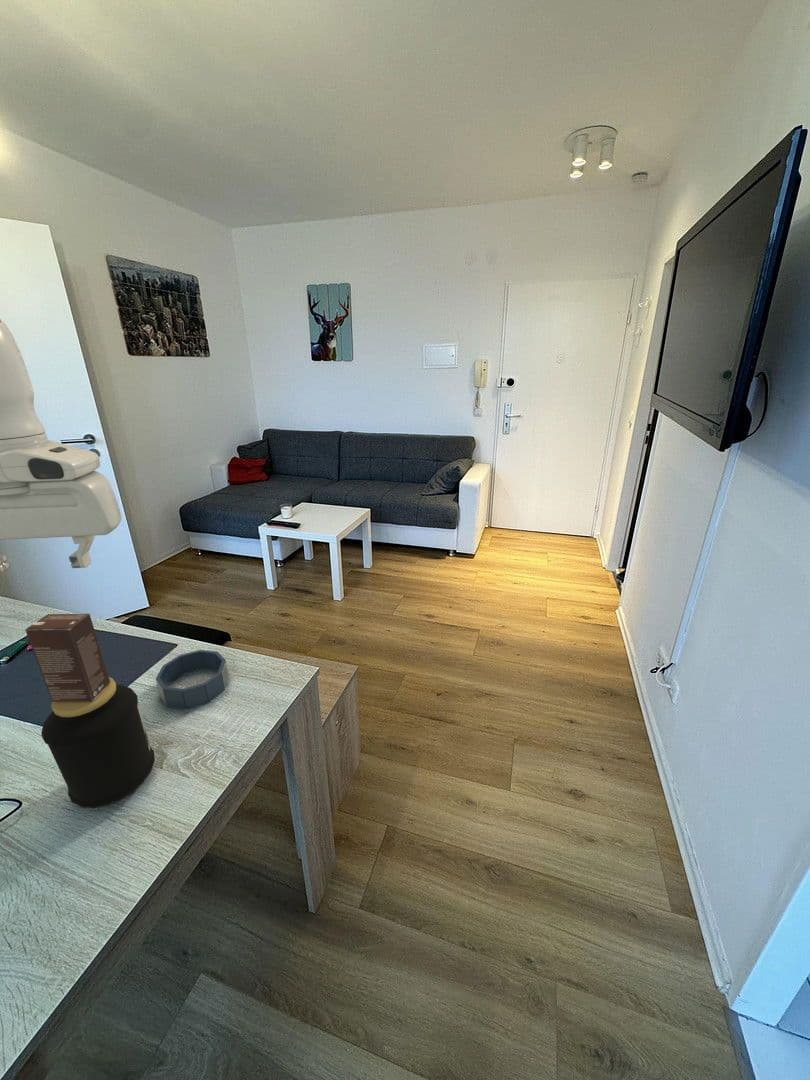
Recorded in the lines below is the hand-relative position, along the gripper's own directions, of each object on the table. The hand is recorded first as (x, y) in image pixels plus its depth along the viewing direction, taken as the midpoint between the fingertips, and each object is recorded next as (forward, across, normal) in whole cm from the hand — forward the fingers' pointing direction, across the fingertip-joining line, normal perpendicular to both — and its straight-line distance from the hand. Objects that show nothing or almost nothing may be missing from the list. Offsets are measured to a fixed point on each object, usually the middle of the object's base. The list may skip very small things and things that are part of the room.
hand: (41, 568), depth 55 cm
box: (+20, 0, 0) cm, 20 cm away
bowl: (+38, +7, +21) cm, 44 cm away
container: (+38, 0, 0) cm, 38 cm away
